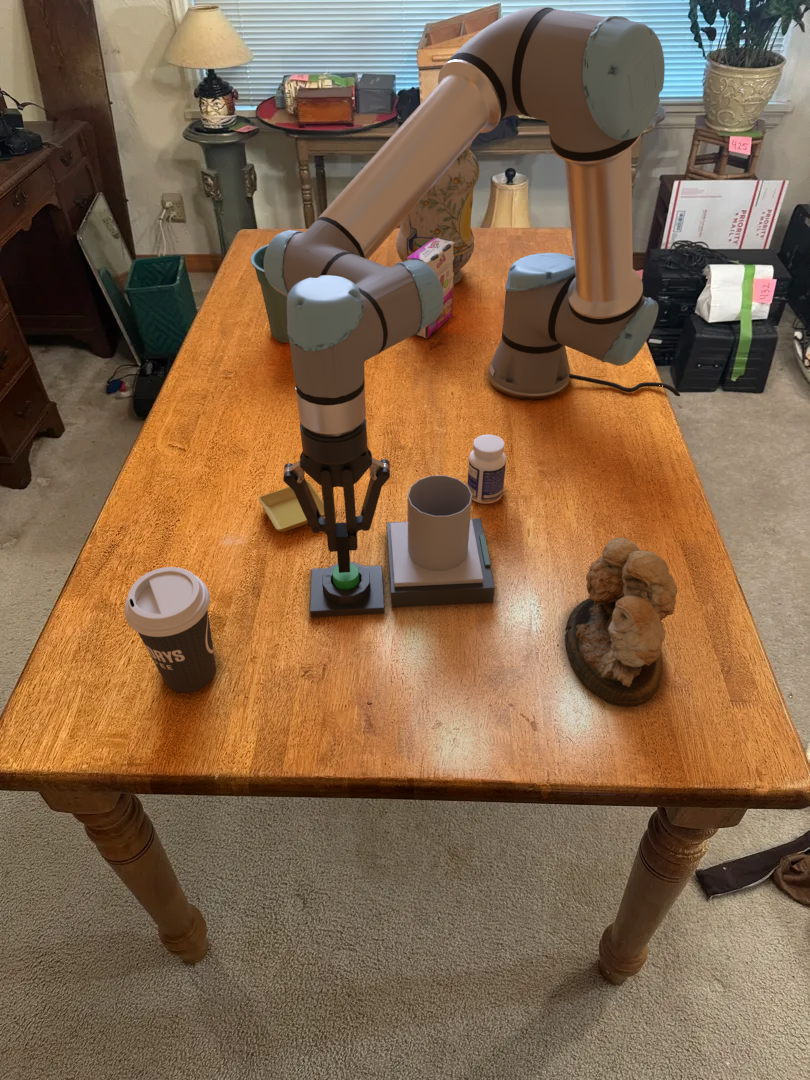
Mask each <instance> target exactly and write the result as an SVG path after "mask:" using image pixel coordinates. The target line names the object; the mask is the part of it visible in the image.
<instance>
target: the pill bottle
mask: <svg viewBox="0 0 810 1080" xmlns="http://www.w3.org/2000/svg"><path fill="white" fill-rule="evenodd" d="M504 451H505V441H504V440H503V439H502V437H500V436H498V435H495V434H491V433H490V434H487V433H486V434H481V435H479V436H477V437H475V438H474V440H473V443H472V450H471V451H470V453H469V456H468V469H467V470H468V471H467V484H466V485H467V486H468V487H469V489H470V492H471V494H472V501H474V502H476V503H478V504H484V505H485V504H486V505H488V504H493V503H496V502H497V501H498V502H499V500H500V499H501V498H502V496H503V494H504V487H505V478H506V477H505V476H506V468H507V467H506V466H507V456H506V454H505V452H504Z"/></svg>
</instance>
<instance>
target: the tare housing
mask: <svg viewBox="0 0 810 1080" xmlns="http://www.w3.org/2000/svg"><path fill="white" fill-rule="evenodd" d="M350 563H351V564H354V565H355V566H356V567H357V568H358V570H359V584H358V585H357V586H356V587H355V588H353V589H351V590H340V589H338V588H336V587H335V585H334V583H333V575H332V572H333V569H334V568H335V567H336V566H337V565H338V562H337V563H335V564H333V565H330V566H329V567H318V568H317V567H316V568H311V570H310V597H309V616H310V618H318V617H341V616H357V615H358V616H359V615H360V616H361V615H379V614H385V596H384V595H385V593H384V580H383V578H384V577H383V576H384V575H383V565H363V564H360V563H358V562H355V561H350Z"/></svg>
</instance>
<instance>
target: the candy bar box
mask: <svg viewBox="0 0 810 1080" xmlns="http://www.w3.org/2000/svg"><path fill="white" fill-rule="evenodd" d="M454 243H455V242H452V241H448V240H444V239H440V238H433V239H432V240H431V241H429V242H428V243H427V244H425V245H424V246H422V247H421V248H420V249H418V250H417V251H415V252H414V253H413V254H411V255H410V256H408V257H407V261H408V260H419V261H422V262H424V263H426V264H427V265H428V266H430V267H431V268H432V269H433V271H434V272H435V273H436V275H437V276H438V278H439V280H440V282H441V285H442V288H443V295H444V296H443V300H444V302H443V308H442V311H441V314H440V315H439V317H438V318H437V319H436V320H435V321H434V322H432V323H431V324H430V325H428V326H427V327H425V328H424V329H422V330H421V331H420V332H419V333H417V335H415V336H417V337H419V338H424V339H428V338H430V337H431V336H432V335H433V334H434V333H436V331H437V330H439V329H440V328H442V326H443V325H445V324H446V323H447V322H448V321H449V320H450V319H452V318H453V316H454V315H453V313H454V311H453V310H454V284H453V277H454Z"/></svg>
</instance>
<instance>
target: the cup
mask: <svg viewBox="0 0 810 1080" xmlns="http://www.w3.org/2000/svg"><path fill="white" fill-rule="evenodd" d="M472 501H473V500H472V494H471V492H470V489H469V487H468V486H467V484H466V483H465V482H463V481H462V480H460V479H458V478H456V477H452V476H449V475H445V474H444V475H443V474H442V475H429V476H426V477H423V478H419V479H418V480H417V481H415V482H414V483H413V484H412V485H411V486H410V487H409V490H408V494H407V522H408V552H409V555H410V558H411V560H412V561H414V562H415V563H416V564H417V565H418V566H420V567H422V568H425V569H428V570H431V571H447V570H450V569H452V568H455V567H457V566H459V565H460V564H461V563H462V562H463V561H464V560H465V559H466V556H467V551H468V541H469V528H470V519H471V513H472V503H473V502H472Z"/></svg>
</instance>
